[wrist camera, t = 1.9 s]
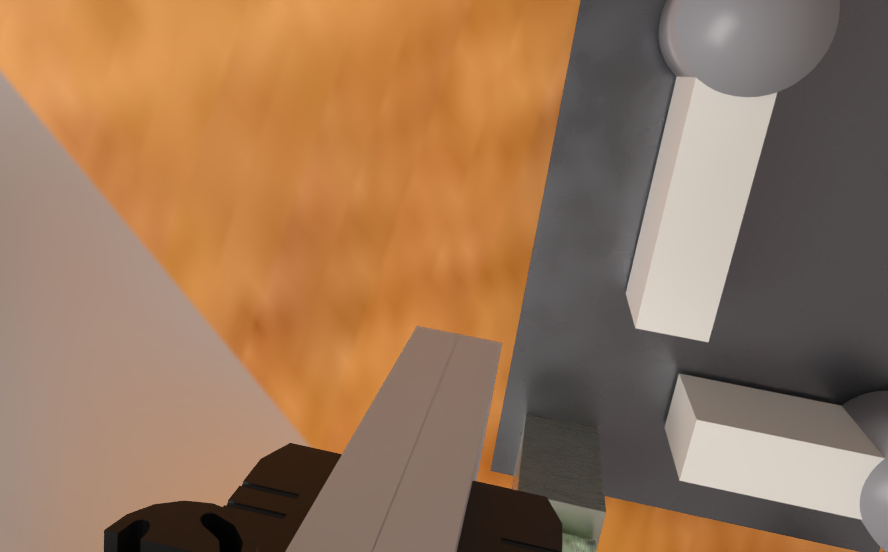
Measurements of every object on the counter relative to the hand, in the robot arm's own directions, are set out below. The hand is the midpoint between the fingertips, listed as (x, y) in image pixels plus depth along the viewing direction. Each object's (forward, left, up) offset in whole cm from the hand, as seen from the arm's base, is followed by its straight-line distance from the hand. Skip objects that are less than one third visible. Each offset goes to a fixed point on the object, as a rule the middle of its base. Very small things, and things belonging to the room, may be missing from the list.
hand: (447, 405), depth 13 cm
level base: (-1, +9, -18) cm, 20 cm away
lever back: (+6, +13, -16) cm, 21 cm away
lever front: (-4, +6, -16) cm, 18 cm away
